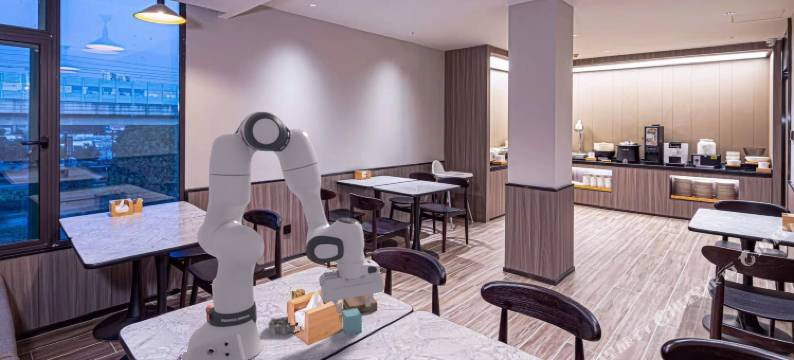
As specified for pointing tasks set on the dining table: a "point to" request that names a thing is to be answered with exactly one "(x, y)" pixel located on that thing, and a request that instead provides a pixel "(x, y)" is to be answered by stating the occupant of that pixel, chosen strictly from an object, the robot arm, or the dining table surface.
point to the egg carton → (280, 325)
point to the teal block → (352, 321)
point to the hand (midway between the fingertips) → (353, 309)
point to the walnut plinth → (360, 304)
